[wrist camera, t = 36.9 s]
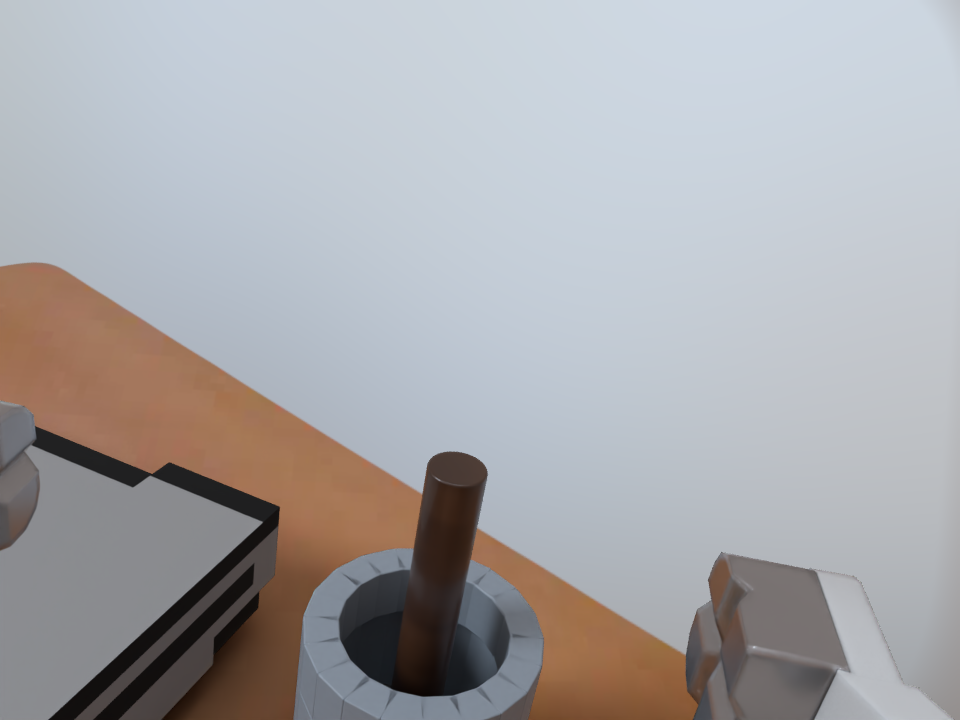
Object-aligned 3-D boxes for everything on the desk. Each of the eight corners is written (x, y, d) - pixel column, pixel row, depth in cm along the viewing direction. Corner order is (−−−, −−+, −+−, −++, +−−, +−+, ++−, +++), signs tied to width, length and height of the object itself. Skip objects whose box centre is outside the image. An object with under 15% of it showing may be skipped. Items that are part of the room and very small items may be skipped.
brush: (437, 772, 41) (505, 452, 33) (426, 835, 38) (497, 502, 30) (370, 758, 41) (421, 436, 33) (354, 820, 38) (406, 483, 30)
